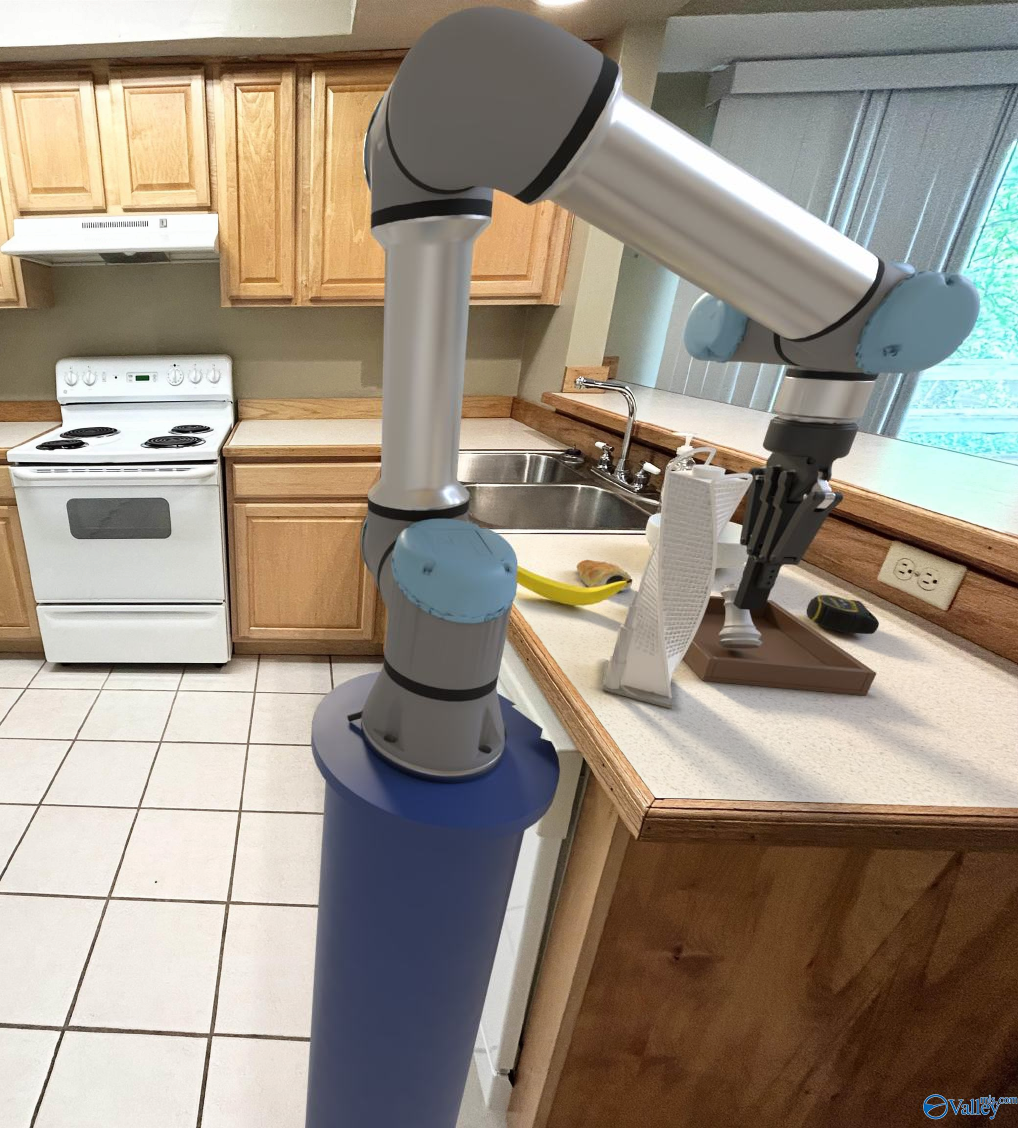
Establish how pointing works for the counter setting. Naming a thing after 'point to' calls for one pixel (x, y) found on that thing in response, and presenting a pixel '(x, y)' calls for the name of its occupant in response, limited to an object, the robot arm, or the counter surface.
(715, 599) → the tray
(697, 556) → the skyscraper
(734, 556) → the cereal bowl
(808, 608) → the tape measure
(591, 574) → the pastry
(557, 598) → the banana
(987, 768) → the counter surface
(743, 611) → the rook chess piece
